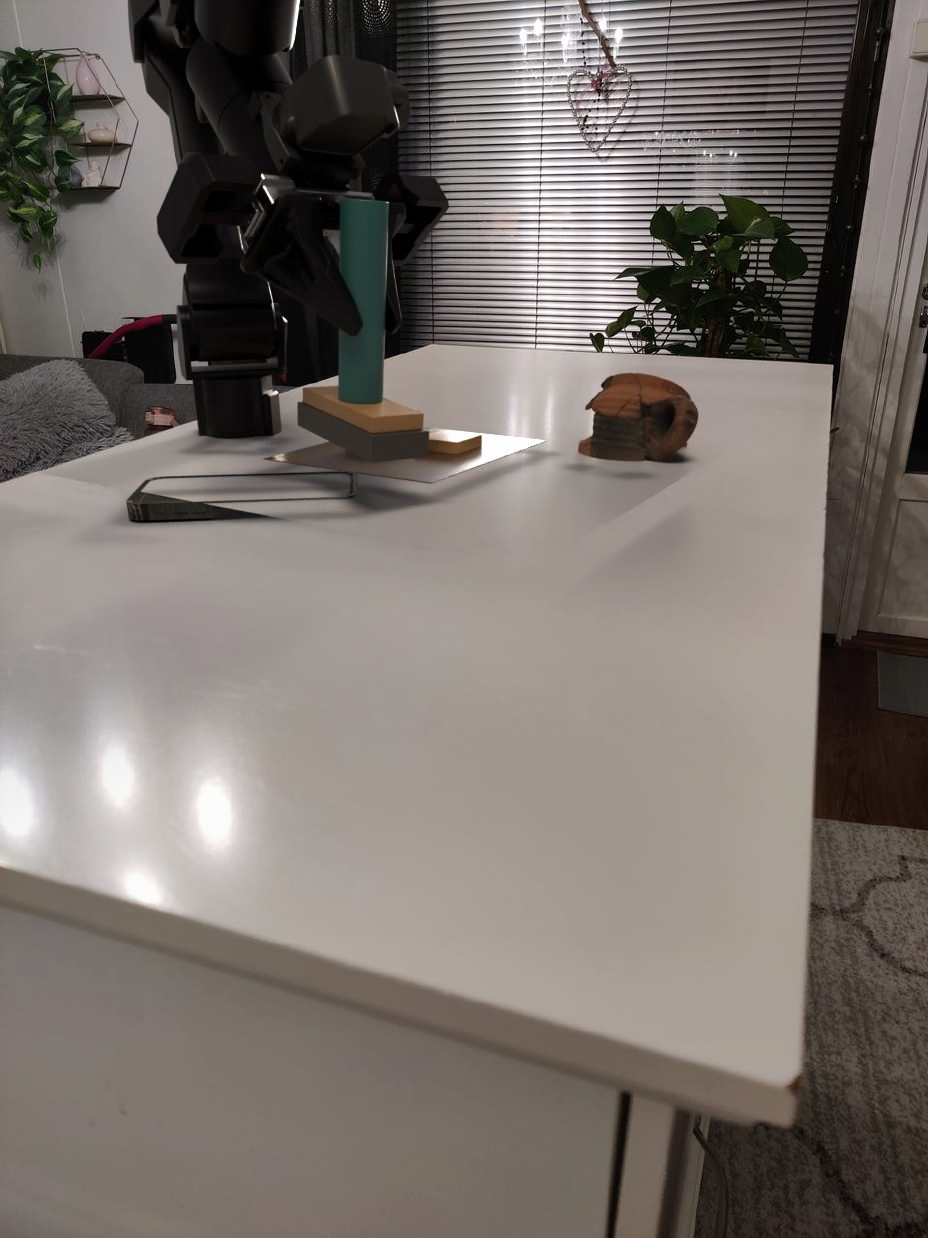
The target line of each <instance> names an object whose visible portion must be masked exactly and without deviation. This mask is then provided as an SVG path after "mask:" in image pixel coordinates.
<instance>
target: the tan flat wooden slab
mask: <svg viewBox="0 0 928 1238" xmlns="http://www.w3.org/2000/svg"><path fill="white" fill-rule="evenodd" d="M446 430H447V429H444V430H441V431H437V432H434V433H431V434H429V448H428V451H431V452H439V453H447V454H455V455H457V454H460V453H463V452H466V451H469V450H472V449H475V448H478V447H481V446H482V434H483V433H481V434H473V433H474V432H472V433H464V432H465V431H463V432H455V431H456V430H454V431H446Z"/></svg>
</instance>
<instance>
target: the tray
mask: <svg viewBox="0 0 928 1238" xmlns="http://www.w3.org/2000/svg"><path fill="white" fill-rule="evenodd" d="M423 429H425V430H428V431H429V434H431V433H434V432H437V431H441V430H446V431H455V432H464V433H473V434H482V446H481V447H478V448H475V449H472V450H469V451H466V452H463V453H460V454H457V455H455V454H447V453H439V452H431V451H428V456H427V457H418V458H409V459H400V460H391V461H382V462H373V463H372V462H370V461H368V460H366V459H364V458H362V457H360V456H358V455H356V454H354V453H352V452H350V451H348V450H346V449H344V448H342V447H340V446H338V445H336V444H334V443H332V442H330V441H327V442H323V443H318V444H314V445H311V446H307V447H303V448H298V449H296V450H291V451H287V452H284V453H280V454H276V455H272V456H268V457H265V458H264V457H263V460H267V461H272V462H280V463H285V464H292V465H293V464H294V465H300V466H305V467H314V468H318V469H319V468H320V469H321V468H322V469H326V470H332V471H351V472H355V473H356V474H361V475H370V476H376V477H383V478H389V479H395V480H402V481H409V482H416V483H423V484H431V485H433V484H434V483H435V484H436V483H437V482H441V481H443V480H446V479H449V478H451V477H454V476H456V475H460V474H461V473H464V472H468V471H469V470H472V469H475V468H478V467H480V466H483V465H486V464H488V463H491V462H494V461H497V460H499V459H502V458H505V457H507V456H510V455H513V454H515V453H518V452H521V451H524V450H527V449H529V448H533V447H535V446H537V445H541V444H543V443H545V442H547V440H545V439H544V440H543V439H536V438H526V437H517V436H509V435H499V434H488V433H481V432H480V433H479V432H471V431H463V430H454V429H453V430H452V429H444V428H443V429H442V428H434V427H425V426H423Z"/></svg>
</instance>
